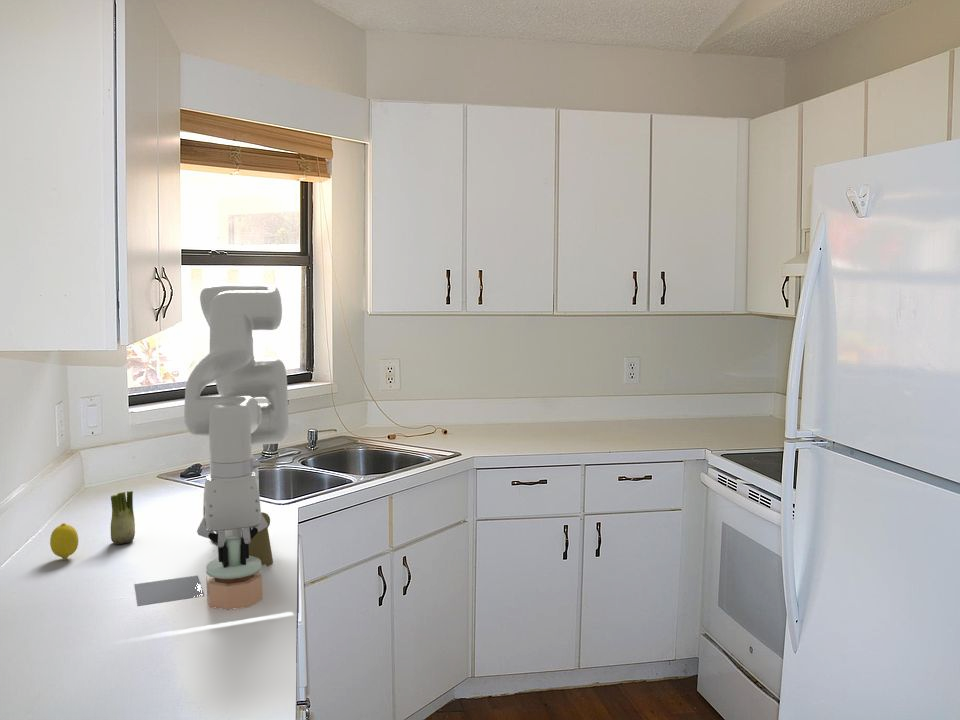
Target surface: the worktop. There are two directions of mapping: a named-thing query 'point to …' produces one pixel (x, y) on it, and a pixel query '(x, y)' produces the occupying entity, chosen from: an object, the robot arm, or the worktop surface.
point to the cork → (262, 544)
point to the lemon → (64, 541)
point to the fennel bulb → (122, 518)
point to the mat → (167, 590)
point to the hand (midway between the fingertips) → (233, 563)
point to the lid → (233, 562)
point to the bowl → (234, 591)
